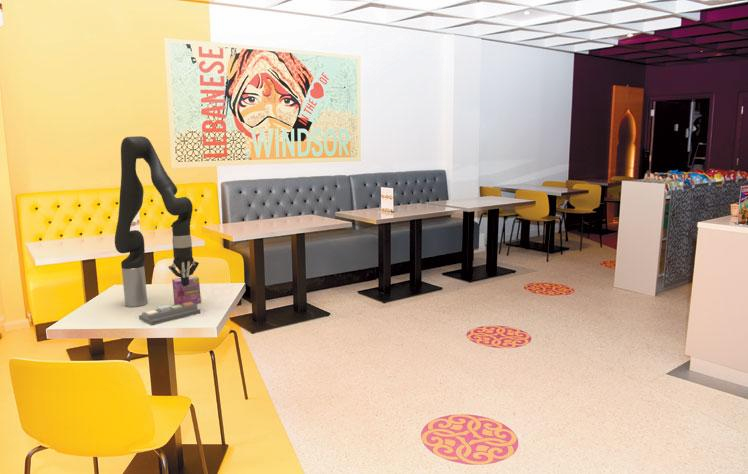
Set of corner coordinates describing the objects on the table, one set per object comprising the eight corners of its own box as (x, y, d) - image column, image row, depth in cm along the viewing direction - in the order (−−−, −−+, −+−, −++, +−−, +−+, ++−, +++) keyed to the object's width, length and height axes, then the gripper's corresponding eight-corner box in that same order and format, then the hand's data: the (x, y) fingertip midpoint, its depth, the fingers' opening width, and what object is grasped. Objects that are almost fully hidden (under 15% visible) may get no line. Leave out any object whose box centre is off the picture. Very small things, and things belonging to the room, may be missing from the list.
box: (178, 307, 245) (175, 281, 243) (174, 304, 250) (171, 278, 248) (201, 303, 251) (199, 277, 249) (197, 300, 256) (195, 275, 254)
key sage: (170, 310, 234) (169, 306, 234) (178, 308, 237) (178, 304, 236) (174, 312, 231) (173, 308, 231) (182, 310, 234) (182, 306, 234)
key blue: (157, 311, 230) (157, 306, 230) (166, 309, 233) (166, 304, 233) (161, 312, 228) (161, 308, 227) (170, 310, 230) (170, 306, 230)
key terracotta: (181, 307, 238) (181, 303, 237) (190, 305, 240) (189, 301, 240) (185, 309, 235) (185, 305, 235) (194, 307, 238) (194, 303, 237)
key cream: (145, 316, 227) (144, 312, 227) (154, 314, 229) (154, 310, 229) (149, 318, 224) (148, 314, 224) (158, 316, 227) (158, 311, 227)
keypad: (139, 318, 230) (138, 311, 229) (187, 307, 244) (186, 300, 244) (151, 325, 221) (150, 317, 221) (200, 313, 236) (199, 305, 235)
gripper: (192, 242, 240) (195, 281, 243) (163, 246, 231) (166, 287, 234) (201, 244, 235) (204, 284, 238) (171, 249, 226) (174, 290, 229)
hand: (185, 285), depth 236 cm, fingers closed
